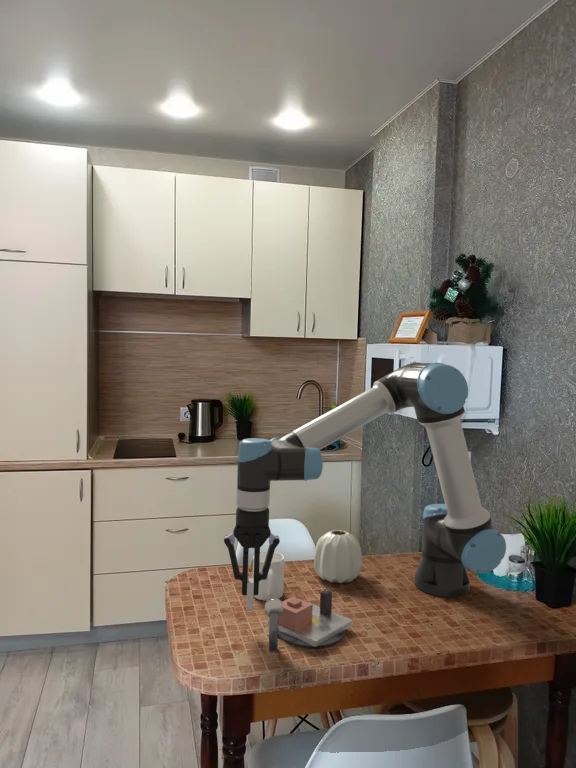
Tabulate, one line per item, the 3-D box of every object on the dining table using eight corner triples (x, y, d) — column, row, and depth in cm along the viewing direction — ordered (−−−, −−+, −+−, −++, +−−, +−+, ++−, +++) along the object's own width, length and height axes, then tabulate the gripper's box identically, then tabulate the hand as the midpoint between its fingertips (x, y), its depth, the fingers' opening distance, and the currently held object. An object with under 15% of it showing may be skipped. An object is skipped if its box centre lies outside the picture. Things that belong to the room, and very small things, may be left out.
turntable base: (338, 614, 140) (338, 610, 140) (350, 648, 124) (350, 643, 124) (274, 615, 139) (274, 611, 139) (277, 648, 123) (277, 644, 123)
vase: (304, 579, 162) (305, 533, 161) (329, 565, 173) (330, 522, 172) (347, 592, 154) (348, 543, 153) (370, 576, 165) (371, 531, 165)
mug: (287, 607, 144) (288, 567, 143) (254, 608, 142) (255, 568, 142) (281, 588, 155) (282, 551, 155) (251, 589, 154) (251, 551, 154)
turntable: (306, 606, 141) (306, 581, 141) (352, 624, 132) (353, 598, 132) (267, 625, 131) (268, 599, 131) (315, 647, 122) (316, 618, 121)
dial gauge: (281, 645, 125) (283, 597, 124) (282, 651, 122) (284, 603, 122) (263, 645, 125) (264, 597, 124) (264, 651, 122) (265, 603, 121)
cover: (292, 613, 135) (292, 593, 135) (312, 621, 131) (312, 601, 131) (275, 621, 130) (275, 601, 130) (295, 630, 126) (295, 609, 126)
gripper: (280, 503, 133) (277, 601, 135) (224, 502, 132) (221, 601, 134) (282, 511, 126) (278, 616, 127) (223, 511, 125) (220, 616, 126)
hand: (249, 608), depth 130 cm, fingers closed
